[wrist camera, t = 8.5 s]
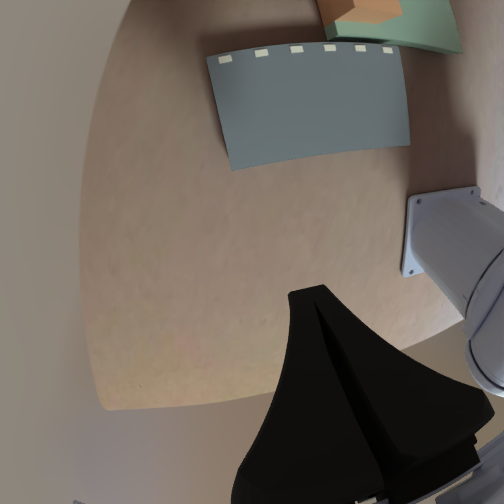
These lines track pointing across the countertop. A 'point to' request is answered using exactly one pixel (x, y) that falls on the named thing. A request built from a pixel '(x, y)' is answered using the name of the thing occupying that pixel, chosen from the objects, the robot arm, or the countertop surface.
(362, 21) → the pale green flat slab
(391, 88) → the white-dotted slate slab
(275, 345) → the countertop surface
